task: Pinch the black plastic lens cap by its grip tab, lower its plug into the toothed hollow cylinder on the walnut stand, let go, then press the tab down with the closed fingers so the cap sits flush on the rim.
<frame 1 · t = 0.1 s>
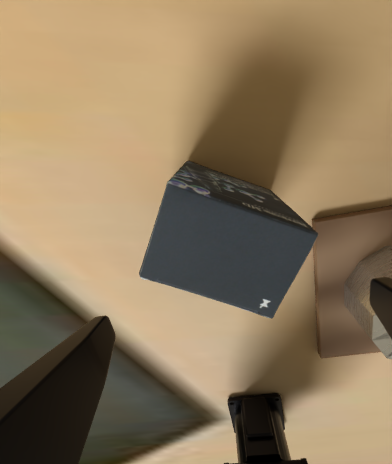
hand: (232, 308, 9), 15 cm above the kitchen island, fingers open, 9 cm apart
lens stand: (389, 283, 24), on the kitchen island
box: (218, 203, 22), on the kitchen island
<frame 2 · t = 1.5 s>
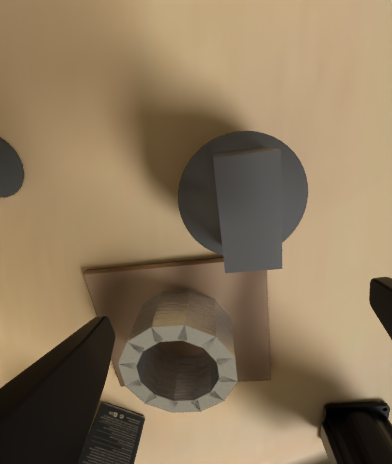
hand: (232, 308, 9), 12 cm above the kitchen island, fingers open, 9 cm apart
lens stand: (184, 325, 25), on the kitchen island
lens cap: (235, 187, 19), on the kitchen island
box: (115, 425, 31), on the kitchen island
toothed hollow cylinder: (183, 331, 24), resting on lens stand
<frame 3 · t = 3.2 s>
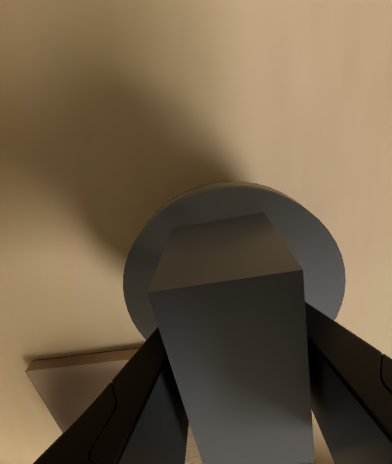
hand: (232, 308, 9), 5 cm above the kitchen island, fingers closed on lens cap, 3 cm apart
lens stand: (172, 419, 18), on the kitchen island
lens cap: (224, 247, 13), on the kitchen island, touching gripper
toothed hollow cylinder: (170, 431, 18), resting on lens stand
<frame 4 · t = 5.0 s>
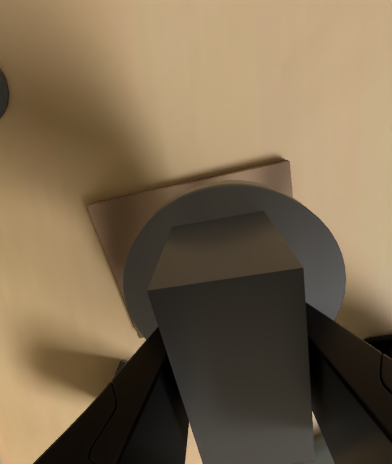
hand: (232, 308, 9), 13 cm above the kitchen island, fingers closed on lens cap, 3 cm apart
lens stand: (202, 259, 22), on the kitchen island
lens cap: (224, 247, 13), point 8 cm above the kitchen island, touching gripper
when the fingers open (8 cm above the kitchen island, at t = 7.2 s): lens cap stays where it is, resting on toothed hollow cylinder.
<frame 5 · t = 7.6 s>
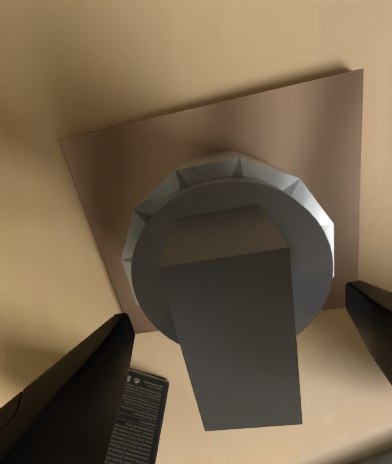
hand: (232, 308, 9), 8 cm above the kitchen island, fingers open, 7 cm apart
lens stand: (221, 226, 16), on the kitchen island
lens cap: (223, 240, 14), point 2 cm above the kitchen island, touching toothed hollow cylinder
box: (129, 396, 23), on the kitchen island
toothed hollow cylinder: (221, 230, 15), resting on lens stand
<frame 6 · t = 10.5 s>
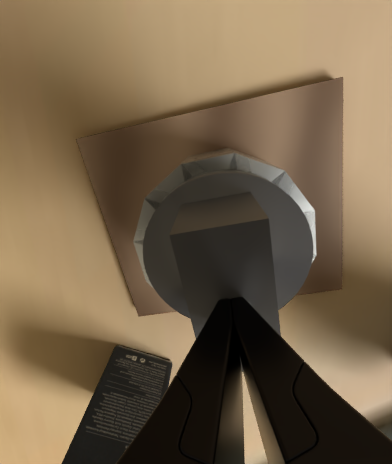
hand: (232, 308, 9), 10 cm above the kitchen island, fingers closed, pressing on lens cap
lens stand: (220, 216, 18), on the kitchen island
lens cap: (222, 227, 16), point 2 cm above the kitchen island, touching gripper, toothed hollow cylinder
box: (135, 377, 25), on the kitchen island
toothed hollow cylinder: (220, 220, 17), resting on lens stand
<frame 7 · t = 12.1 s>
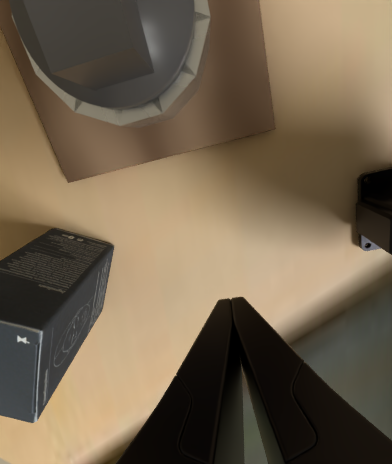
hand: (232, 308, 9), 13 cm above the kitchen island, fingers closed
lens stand: (138, 51, 17), on the kitchen island
lens cap: (128, 38, 15), point 2 cm above the kitchen island, touching toothed hollow cylinder
box: (80, 270, 24), on the kitchen island
toothed hollow cylinder: (135, 47, 16), resting on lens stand
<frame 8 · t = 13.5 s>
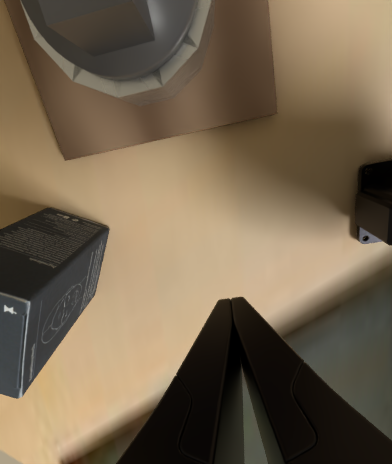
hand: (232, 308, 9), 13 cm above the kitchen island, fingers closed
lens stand: (141, 27, 16), on the kitchen island
lens cap: (131, 10, 14), point 2 cm above the kitchen island, touching toothed hollow cylinder
box: (74, 252, 23), on the kitchen island
toothed hollow cylinder: (138, 21, 16), resting on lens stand
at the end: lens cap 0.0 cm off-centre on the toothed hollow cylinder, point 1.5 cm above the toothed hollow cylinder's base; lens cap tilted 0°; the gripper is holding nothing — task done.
